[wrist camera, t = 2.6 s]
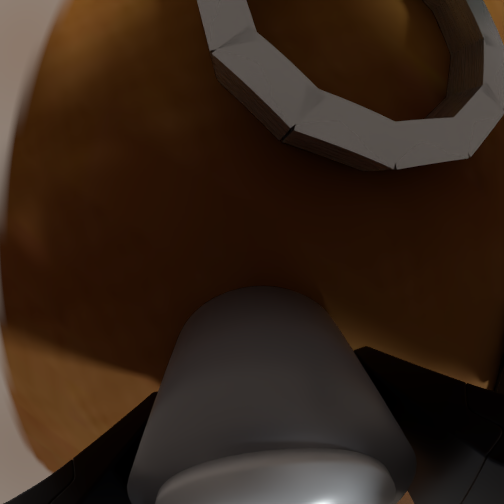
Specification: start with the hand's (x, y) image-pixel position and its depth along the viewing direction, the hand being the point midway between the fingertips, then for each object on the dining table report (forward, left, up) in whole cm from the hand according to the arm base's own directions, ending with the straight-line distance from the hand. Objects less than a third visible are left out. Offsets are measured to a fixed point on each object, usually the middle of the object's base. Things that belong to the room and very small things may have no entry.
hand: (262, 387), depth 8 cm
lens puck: (0, 0, -1) cm, 1 cm away
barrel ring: (-5, -9, -1) cm, 10 cm away
